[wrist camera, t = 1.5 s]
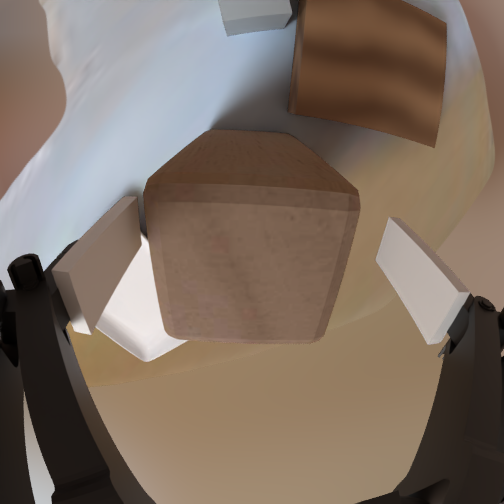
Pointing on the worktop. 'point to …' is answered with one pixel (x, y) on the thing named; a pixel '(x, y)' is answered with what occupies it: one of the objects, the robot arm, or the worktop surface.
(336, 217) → the block
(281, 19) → the slate cube
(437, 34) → the plinth
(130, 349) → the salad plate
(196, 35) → the worktop surface
